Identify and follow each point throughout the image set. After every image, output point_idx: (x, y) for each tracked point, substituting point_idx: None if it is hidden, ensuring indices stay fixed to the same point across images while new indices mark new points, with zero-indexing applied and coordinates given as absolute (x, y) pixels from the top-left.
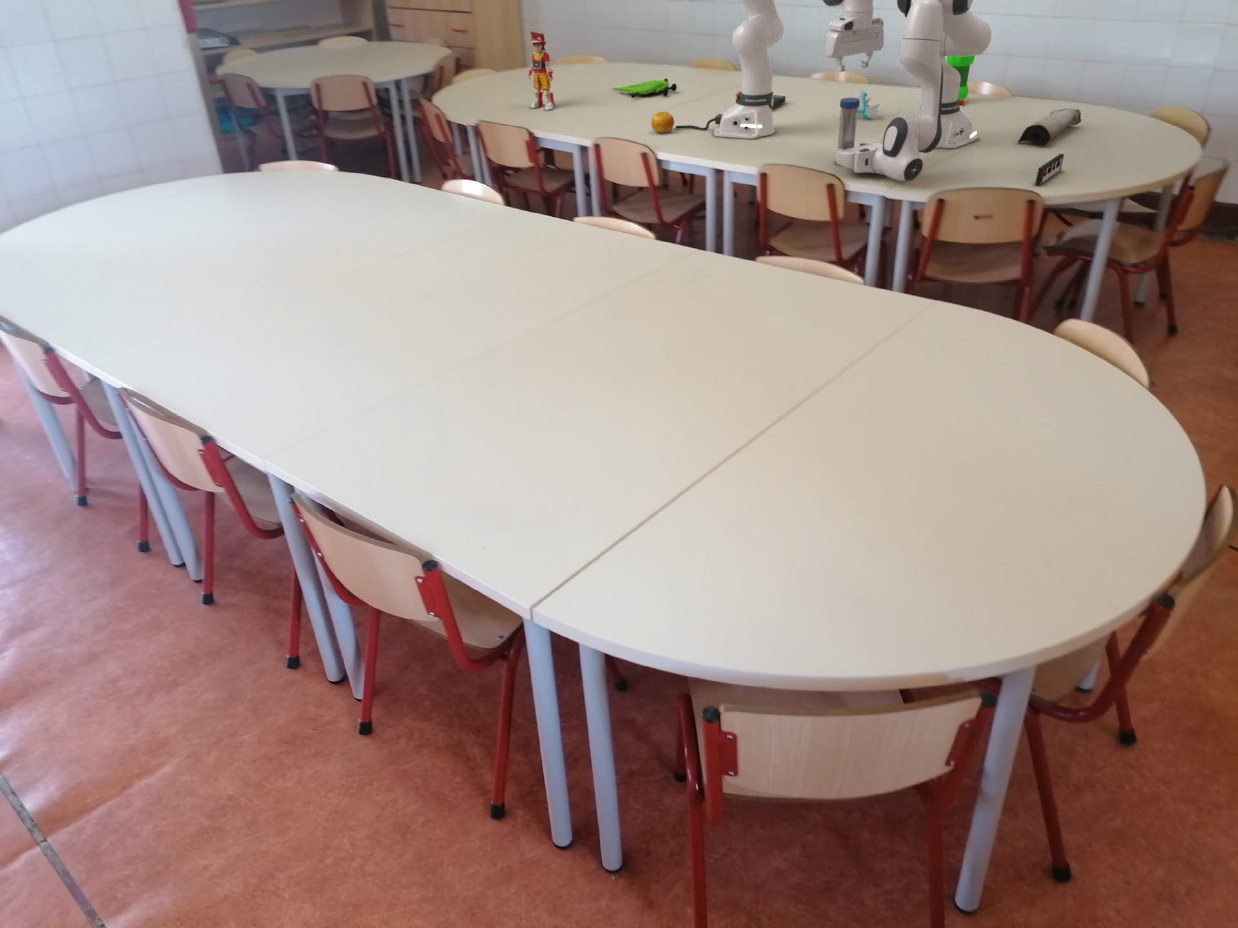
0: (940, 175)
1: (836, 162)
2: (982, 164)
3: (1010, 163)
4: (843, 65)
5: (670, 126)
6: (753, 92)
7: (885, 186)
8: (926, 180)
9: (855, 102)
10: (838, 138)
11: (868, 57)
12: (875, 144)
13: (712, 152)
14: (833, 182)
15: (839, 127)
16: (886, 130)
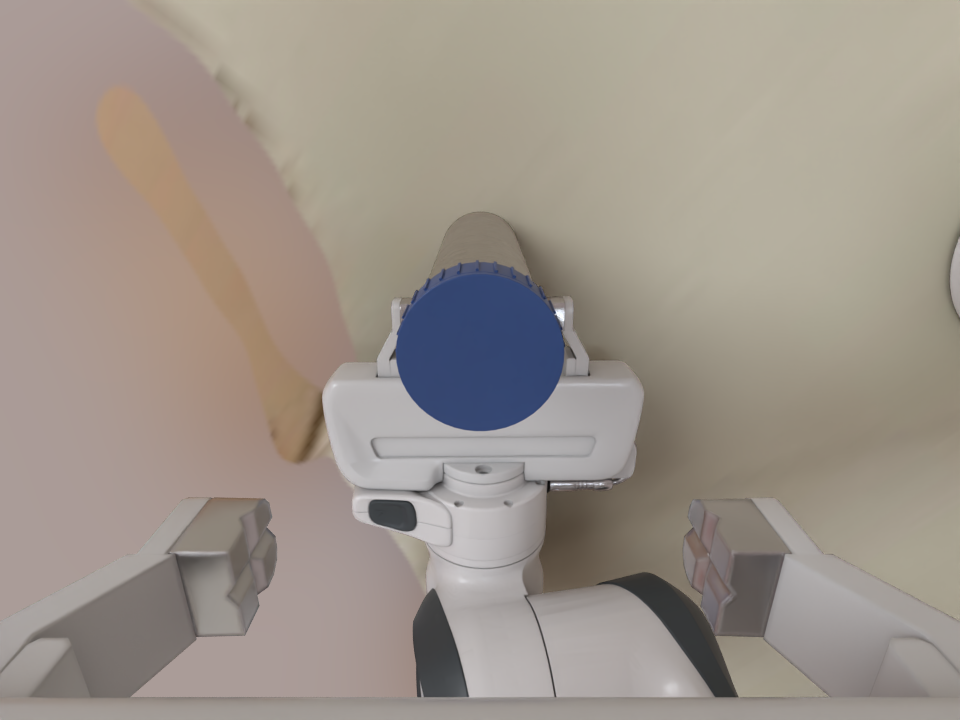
0: (657, 571)
1: (447, 230)
2: (870, 566)
3: (942, 605)
4: (228, 614)
5: None
6: None
7: (420, 554)
8: (578, 581)
9: (474, 428)
10: (440, 250)
11: (843, 683)
12: (464, 519)
13: None
14: (283, 425)
15: (434, 265)
16: (423, 682)
